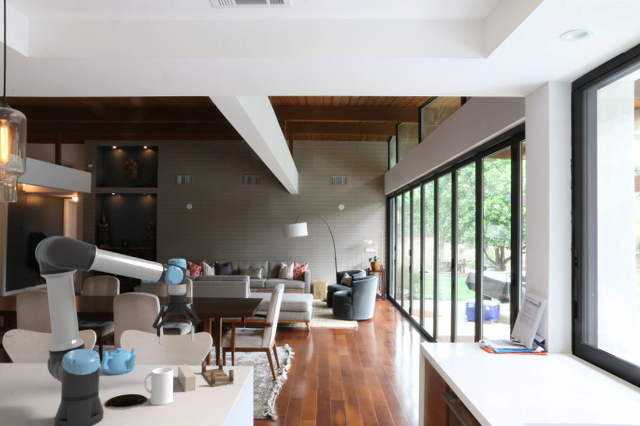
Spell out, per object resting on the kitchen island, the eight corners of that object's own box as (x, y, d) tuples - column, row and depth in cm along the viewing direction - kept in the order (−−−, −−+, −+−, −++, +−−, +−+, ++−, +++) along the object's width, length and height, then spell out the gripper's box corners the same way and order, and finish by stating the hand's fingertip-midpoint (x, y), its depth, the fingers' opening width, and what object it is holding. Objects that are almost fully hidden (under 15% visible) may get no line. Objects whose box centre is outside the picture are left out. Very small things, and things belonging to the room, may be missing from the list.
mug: (138, 403, 172) (139, 371, 173) (151, 395, 181) (152, 365, 181) (165, 406, 170) (165, 374, 170) (177, 398, 178) (178, 367, 178)
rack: (234, 383, 196) (234, 370, 196) (211, 387, 191) (211, 374, 192) (221, 370, 216) (222, 358, 216) (200, 372, 211) (201, 361, 211)
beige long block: (195, 390, 187) (195, 376, 188) (185, 392, 186) (185, 377, 186) (186, 377, 205) (187, 364, 206) (177, 378, 204) (178, 365, 204)
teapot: (102, 368, 218) (103, 346, 218) (135, 365, 223) (136, 343, 224) (100, 377, 204) (100, 353, 204) (135, 373, 209) (136, 350, 210)
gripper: (203, 290, 207) (203, 337, 206) (146, 294, 195) (145, 343, 194) (207, 292, 200) (207, 340, 199) (148, 296, 188) (147, 347, 188)
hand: (176, 342), depth 197 cm, fingers open, 13 cm apart
